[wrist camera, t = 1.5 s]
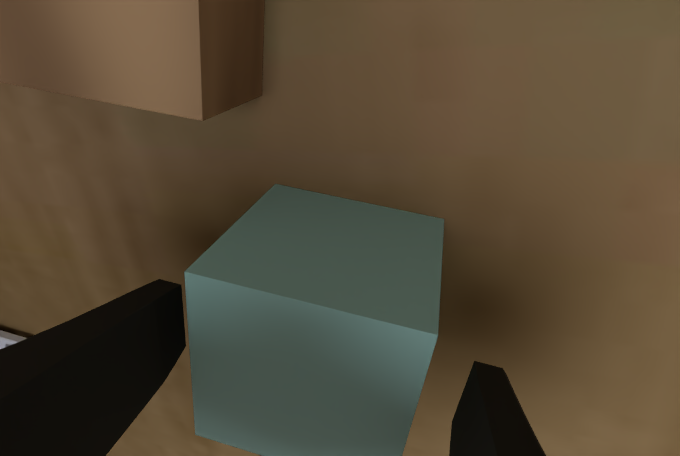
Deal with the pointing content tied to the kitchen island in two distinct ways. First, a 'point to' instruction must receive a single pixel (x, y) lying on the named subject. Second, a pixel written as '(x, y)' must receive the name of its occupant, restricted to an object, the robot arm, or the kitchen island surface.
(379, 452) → the teal cube
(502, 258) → the kitchen island surface
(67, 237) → the kitchen island surface
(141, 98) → the walnut block
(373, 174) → the kitchen island surface
